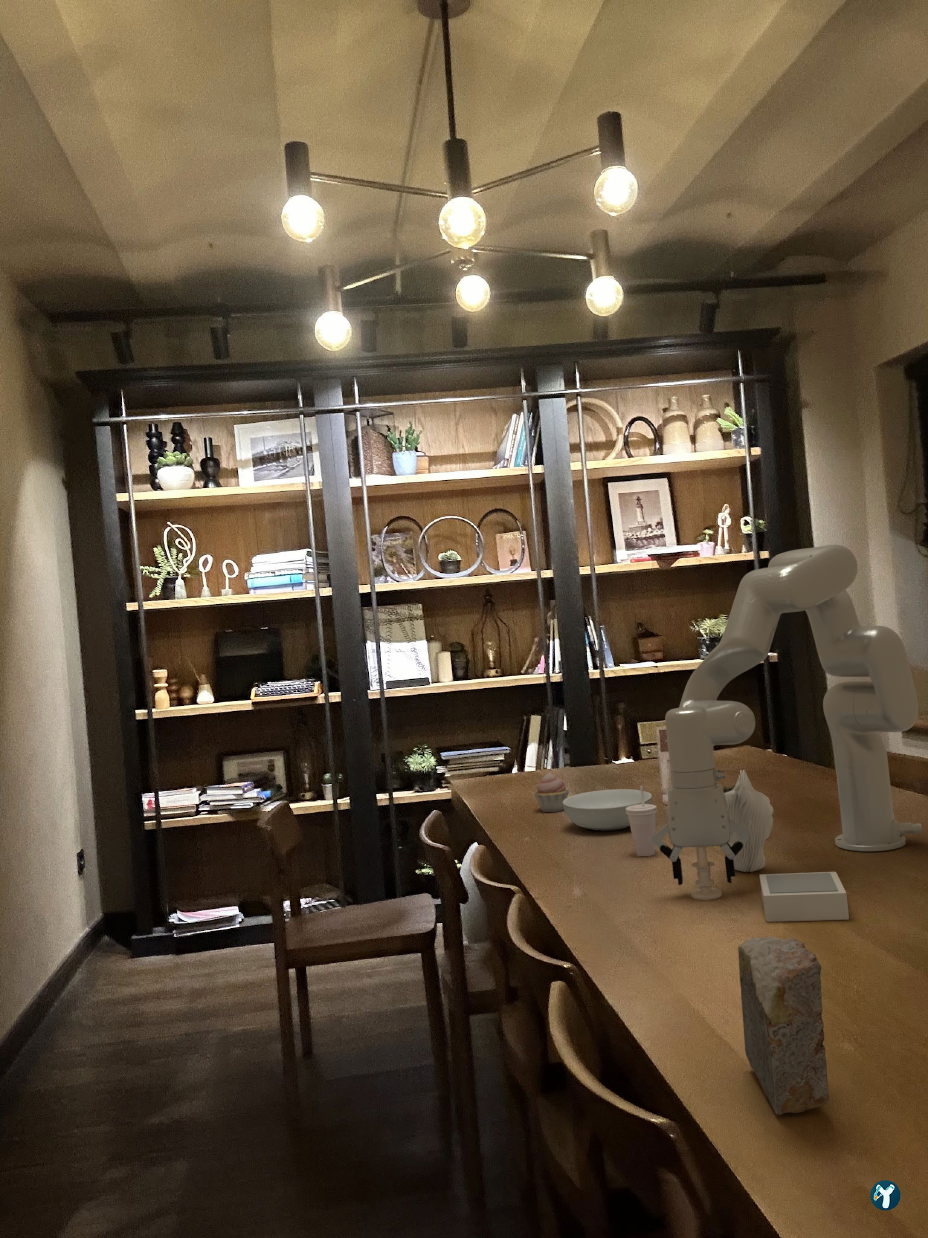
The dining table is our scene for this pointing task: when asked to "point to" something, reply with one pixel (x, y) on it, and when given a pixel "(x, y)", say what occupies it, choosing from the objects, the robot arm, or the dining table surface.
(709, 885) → the candle
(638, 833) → the smoothie
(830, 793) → the dining table surface
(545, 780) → the cupcake
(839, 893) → the plinth
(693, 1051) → the dining table surface
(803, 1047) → the geological specimen
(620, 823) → the serving bowl
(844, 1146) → the dining table surface
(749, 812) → the shell sculpture
